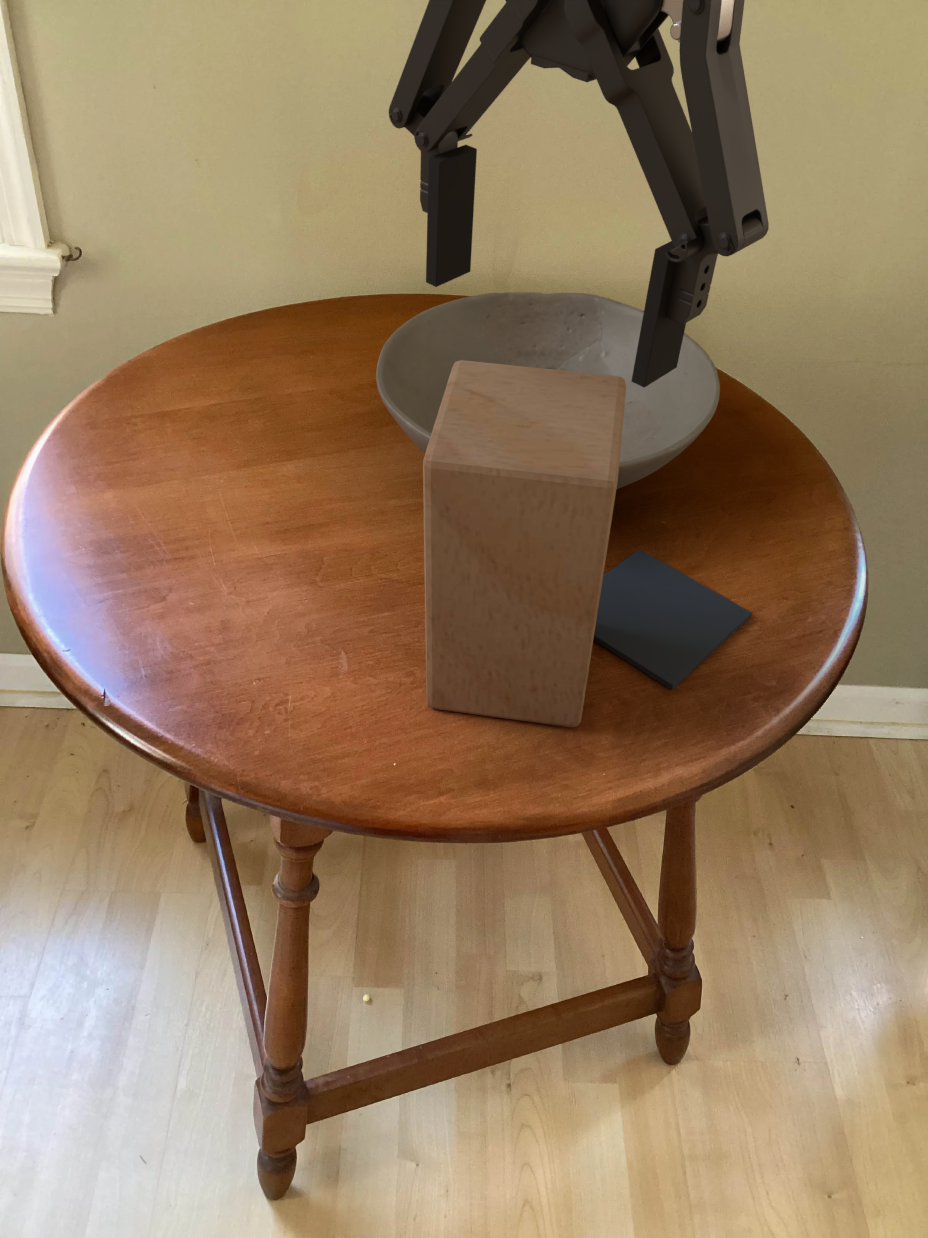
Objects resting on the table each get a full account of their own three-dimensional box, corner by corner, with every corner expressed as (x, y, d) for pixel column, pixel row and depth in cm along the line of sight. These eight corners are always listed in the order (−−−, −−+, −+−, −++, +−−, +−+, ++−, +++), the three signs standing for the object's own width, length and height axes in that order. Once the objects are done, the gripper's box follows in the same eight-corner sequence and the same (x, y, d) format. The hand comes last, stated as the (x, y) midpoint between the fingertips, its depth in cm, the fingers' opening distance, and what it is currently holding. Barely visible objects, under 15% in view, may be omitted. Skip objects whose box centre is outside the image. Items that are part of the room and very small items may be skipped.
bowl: (729, 406, 95) (749, 324, 90) (656, 596, 76) (676, 505, 71) (451, 342, 102) (454, 261, 96) (320, 501, 83) (314, 411, 77)
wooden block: (579, 731, 66) (617, 481, 52) (424, 710, 67) (420, 459, 53) (591, 621, 73) (627, 373, 59) (450, 603, 74) (453, 355, 60)
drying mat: (750, 617, 75) (752, 612, 75) (671, 690, 70) (673, 685, 69) (638, 553, 80) (639, 548, 79) (555, 616, 74) (556, 611, 74)
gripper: (968, -163, 35) (797, 392, 49) (430, -246, 46) (422, 223, 61) (863, -144, 31) (711, 455, 45) (301, -240, 42) (325, 262, 57)
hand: (545, 323), depth 53 cm, fingers open, 13 cm apart
